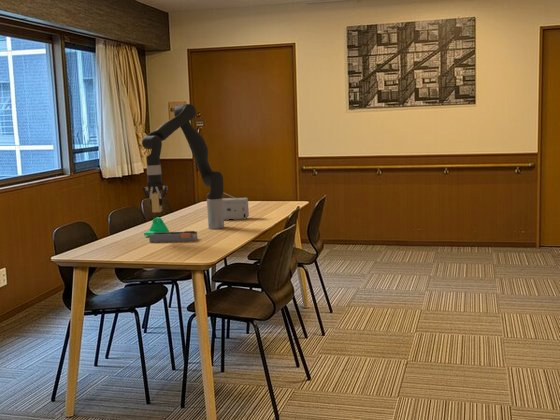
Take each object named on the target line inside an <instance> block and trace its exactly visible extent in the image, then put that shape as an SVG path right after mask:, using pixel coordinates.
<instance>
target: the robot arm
mask: <svg viewBox="0 0 560 420" xmlns="http://www.w3.org/2000/svg"><path fill="white" fill-rule="evenodd" d="M173 114H174V117H172V118H171V119H169V120H167V121H165V122H163V123H162V124H161V125H160V126H158V128H156V130H153V131H151V132H150V133H148V134H146V135H145V136H143V138H142V142H141V146H142V147H143V148H144V149H146V150H150V153H149V154H147V155H146V176H147V177H146V180H147V186H144V187H142V190H143V193H144V196H145V198H146V199H149V204H150V205H151V207H152V200H151V194H152V193H154V192H156V193H158V194H159V198H160V199H159V202H160V206H162V207H163V205H164V198H166V197H167V195H168V190H169V186H168V185H164V184H163V177H162V166H161V152H162V147H163V143H162V142H163V141H166V140H167V138H169V137H170V136H171V135H173V133H174V132H176V131H177V130H178V129H181V130H182V133H183V135H184V137H185V139H186V142H187V143H188V144H187V145H188V146H189V149H190V150H191V153H192V155H193V157H194V160H195V162H196V165H197V167H198V171H199V173H200V176H201V179H202V182H203V184H204V185H205V186H206V187H208V188H209V187H210V191H209V192H208V193H206V209H207V223H208V224H207V225H208V229H210V230H217V229H218V230H219V229H224V228H225V220H224V213H223V199H224V197H223V194H224V193H225V192H224V191H225V190H224V177H223V174H222V172H221V171H217V170H216V171H215V170H212V167H211V166H210V163H209V148H208V145H207V142H206V140H205V138H204V137H203V136H202V134H200V133H199V132H198V131H197V130H196V129H195V128H194V127H193V125H192V124H191V121H192V120H193V119H195V118H196V115H197V110H196V107H195V106H194V105H193V104H191V103H185V104H179V105H176V106H175V107H174V110H173ZM162 189H163V192H162ZM223 192H224V193H223Z"/></svg>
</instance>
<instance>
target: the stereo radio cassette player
mask: <svg viewBox="0 0 560 420" xmlns="http://www.w3.org/2000/svg"><path fill="white" fill-rule="evenodd" d="M223 194H225V195H227V196H229V198H228V197H227V198H226V197H225V198H224V197H223V213H224V221H226V220H227V221H228V220H229V219H234V220H246V219H248V218H249V215H250V212H249V211H250V210H249V198H248V197H235V196H232V195H230V194H228V193H226V192H223ZM247 217H248V218H247ZM229 221H230V220H229Z"/></svg>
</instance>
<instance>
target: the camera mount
mask: <svg viewBox="0 0 560 420" xmlns="http://www.w3.org/2000/svg"><path fill="white" fill-rule="evenodd" d="M154 232H170V230H169V228H168V226H167V225H166V224H165V222H164V220H163V219H162V218H161V217H159V216H158V217H154V218H153V219H152V224H151V226H150V227H149V230H148V231H144V232H143V235H144V236H147V237H149V235H151V234H153V233H154Z"/></svg>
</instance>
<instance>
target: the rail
mask: <svg viewBox="0 0 560 420" xmlns="http://www.w3.org/2000/svg"><path fill="white" fill-rule="evenodd" d="M148 239H149V243H187V242H189V243H191V242H195V241H197V240H198V231H195V230H185V231H169V232H154V233H153V234H151V235H149V236H148Z"/></svg>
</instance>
